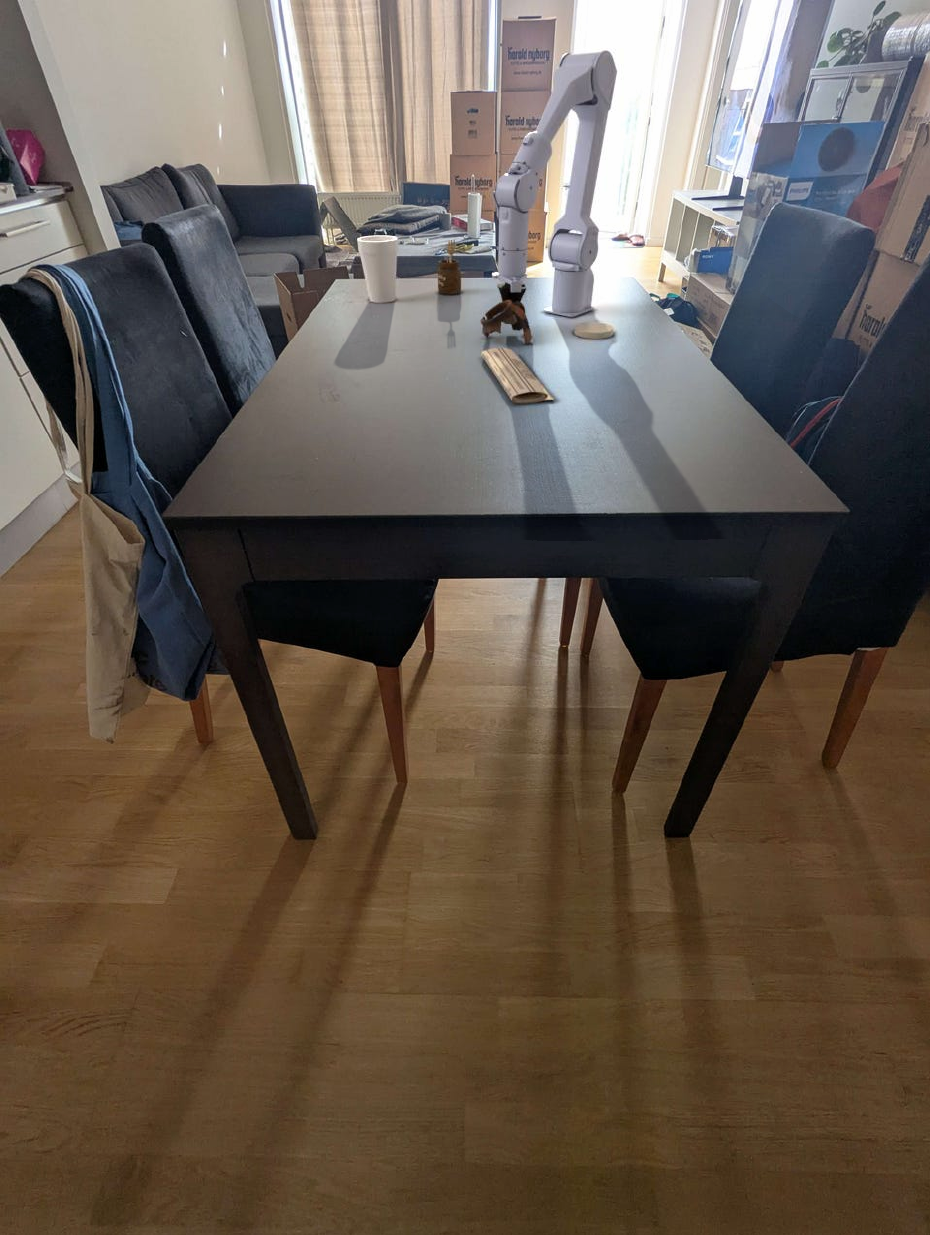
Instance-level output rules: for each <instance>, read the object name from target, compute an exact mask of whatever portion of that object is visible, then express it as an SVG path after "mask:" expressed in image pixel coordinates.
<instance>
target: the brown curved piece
mask: <svg viewBox="0 0 930 1235" xmlns="http://www.w3.org/2000/svg"><path fill="white" fill-rule="evenodd" d="M484 315H485V316H483V317H481V318H480V324H481V325H482V329H481V333H482V335H484V336H485V338H486V339H488V338H489V336H490V335H491V334H493V333H498V334H502V331H501V330H502V323H503V324H505V325H510V326H511V329H512V331H517V332H520V331H521V330H522V336H523V338H524V340H525V344H526V345H528V344H529V343H531V341H532V339H533V335H532V332H531V330H532V329H531V326H530V324H529V319H528V318H527V314H526V308H525V305H524V304H523V303H522V301H521V302H519V301H517V302H515V303H512V301H511V300H506V301H502V300H501V302H498V303H497V304H496V305H494V306H492V307H491V308H490V309H488V310H487V311H486V313H485V314H484Z"/></svg>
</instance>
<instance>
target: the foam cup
mask: <svg viewBox="0 0 930 1235" xmlns="http://www.w3.org/2000/svg"><path fill="white" fill-rule="evenodd" d="M398 244H399V243H398V237H397V236H394V235H378V234H375V235H366V236H361V237H358V238H357V249H358V252H359V257H360V260H361V265H362V270H363V275H364V279H365V284H366V289H367V294H368V299H369V301H370V302H371V303H377V304H383V303H384V304H385V303H391V302H394V301H396V291H397V268H398V266H397V264H398V251H399V247H398Z"/></svg>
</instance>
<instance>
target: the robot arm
mask: <svg viewBox="0 0 930 1235" xmlns="http://www.w3.org/2000/svg"><path fill="white" fill-rule="evenodd" d="M617 76H618V69H617V66H616V63H615V59H614V57H613V54H612V53H611V52H610V51H609V50H606V49H605V50H602V51H594V52H579V53H577V52H576V53H572V52H566V53H564V54H563V55H562V56H561V57H560V59H559V60H558V64H557V67H556V69H555V70H554V72H553V89H552V92H551V94H550V96H549V98H548V100H547V103H546V106H545V108H544V111H543V112H542V115H541V118H540V120H539V122H538V125H537V127H536V130H535V131H533V132H529V133H527V134H526V135H525V136H524V137H523V140H522V141H521V145H520V147H519V149H518V152H517V153H516V155H515V157H514V159H513V161H512V162H511V165H510V167H509V169H508V171H507V173H504V174H502V175H501V176H500V177H499V178H498V179H497V181H496V183H495V186H494V191H492V200H493V204H494V206H495V208H496V217H497V220H498V248H497V249H498V253H497V256H498V257H497V258H498V259H497V260H498V261H497V272H492V274H491V277H492V279H494V280H495V279H497V280H499V281H501V282H504V283H498V284H497V285H496V287H497V288H498V291H499V294H500V297H501V302H502V301H506V300H511V301H512V303H515V302H517V301H519V302H521V303H522V300H523V297H524V296H525V293H526V291H527V287H526V284H525V281H526V280H527V278H528V273H527V265H528V264H527V263H528V244H529V243H528V242H529V241H528V240H529V225H530V224H529V222H530V210H532V208H533V206H534V205H535V204H536V201H537V198H538V190H539V186H540V179H541V177H542V174H543V173H544V171H545V169H546V167H547V166H548V164H549V161H550V159H551V157H552V155H553V146H552V142H553V140H554V138H555V137H556V135H557V134H558V132H559V130H560V128H561V127H562V125H563V124H564V122H565V120H566V119H567V117H568V116H569V114H570V112H571V110H572V111H573V112H574V113H576V116H577V118H578V121H579V122H578V127H577V128H578V129H577V136H576V142H575V146H574V154H573V161H572V167H571V173H570V180H569V186H568V192H567V198H566V204H565V210H564V211H565V212H564V214H563V216H562V217H560V218H559V219H558V220H557V221H556V222H555V223H554V224H553V229H552V234H551V237H550V239H549V241H548V245H547V256H548V259H549V261H550V262H551V263H552V264H551V267H552V268H554V272H553V284H552V285H553V287H552V298H551V301H552V302H551V306H550V307H547V308H544V309H543V312H544V313H549V314H553V315H559V316H562V317H563V316H564V317H568V318H574V317H576V316H580V315H582V314H585V313H587V312H590V311H594V309H595V306H592V302H593V292H594V284H595V275H594V272H593V270H592V268H591V267H592V266H593V264H594V263H595V261H596V259H597V257H598V252H599V240H598V239H599V232H600V229H599V227H598V226H597V225H596V223H595V222H594V220H593V219H592V218H591V213H592V209H593V208H592V207H593V201H594V195H595V190H596V184H597V178H598V172H599V167H600V162H601V156H602V150H603V145H604V139H605V133H606V128H607V122H608V116H609V111H611V108H612V104H613V103H612V102H613V97H614V91H615V85H616V81H617ZM571 231H577V232H580V233H577V232H571Z"/></svg>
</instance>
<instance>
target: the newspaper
mask: <svg viewBox="0 0 930 1235" xmlns="http://www.w3.org/2000/svg"><path fill="white" fill-rule="evenodd" d="M481 357H482V358H483V360H484V361H485V363H486V364H487V366H488V367H489V369H490V370H491V372H492V373H493V375H494V377H495V378H496V379H497V381H498V382H499V384H500V385H501V387H502V388H503V390H504V391H505V393H506V394H507V396H508V397H509V399H510V400H511V402H513V403H515V404H530V403H538V402H539V403H540V402H543V401H551V400H552V401H555V399H554V398H553V397H552V395H551V394H550V393H549V392H548V391H547V390H546V388H545V387H544V386H543V384H542V383H541V381H539V379H538V378H537V377H536V376H535V374H534V373H533V372H532V371H531V370H530V369H529V367H528V366H527V364H525V362H524V361H523V360H522V358H521V357H520V356H519V355H518V354H516V353H515V352H514V351H513V350H512V349H510V348H507V347H492V348H489V349H485V350H482V351H481Z"/></svg>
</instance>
